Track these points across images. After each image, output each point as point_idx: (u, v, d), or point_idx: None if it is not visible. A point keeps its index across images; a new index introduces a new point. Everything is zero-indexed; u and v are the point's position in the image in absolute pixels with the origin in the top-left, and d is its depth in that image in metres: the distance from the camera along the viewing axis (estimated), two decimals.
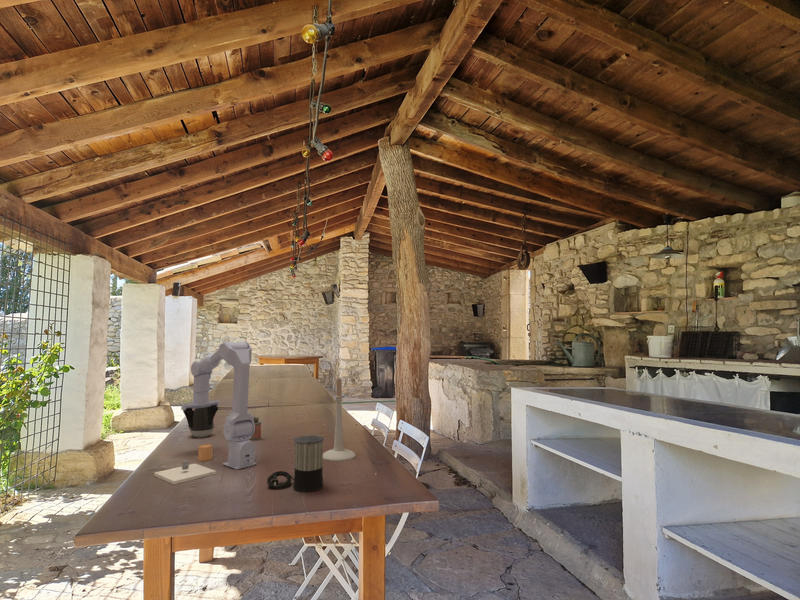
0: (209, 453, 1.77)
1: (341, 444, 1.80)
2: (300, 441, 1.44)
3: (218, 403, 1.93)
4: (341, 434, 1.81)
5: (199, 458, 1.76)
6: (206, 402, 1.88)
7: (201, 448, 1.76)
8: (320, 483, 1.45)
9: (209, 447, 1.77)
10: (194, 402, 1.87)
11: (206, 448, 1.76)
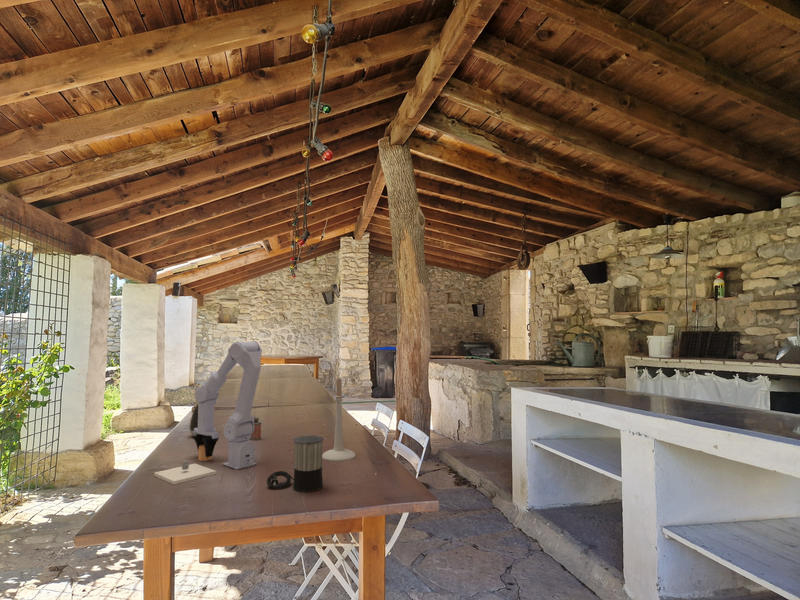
0: None
1: (341, 444, 1.80)
2: (300, 441, 1.44)
3: (212, 435, 1.73)
4: (341, 434, 1.81)
5: (199, 458, 1.76)
6: (200, 431, 1.76)
7: (201, 448, 1.76)
8: (320, 483, 1.45)
9: None
10: None
11: None
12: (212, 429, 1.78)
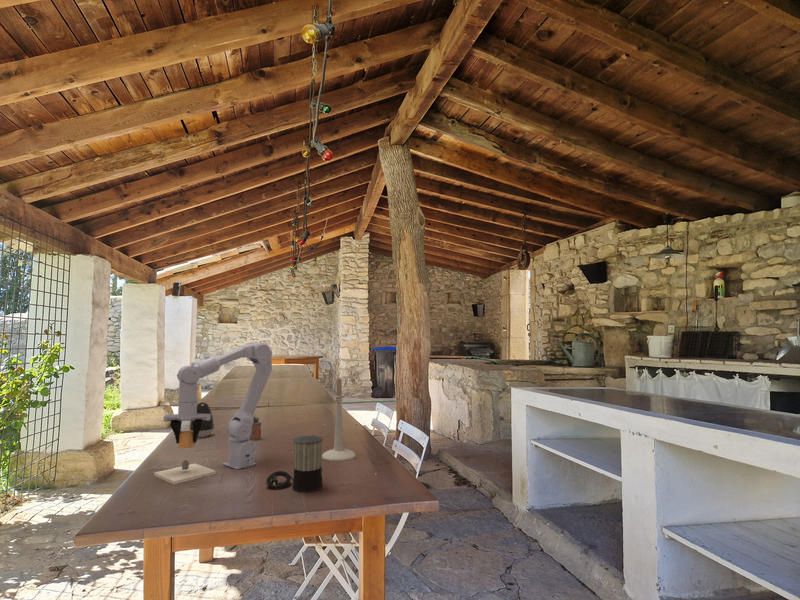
0: None
1: (341, 444, 1.80)
2: (299, 441, 1.44)
3: (207, 417, 1.61)
4: (341, 434, 1.81)
5: (184, 446, 1.58)
6: (188, 415, 1.58)
7: (188, 434, 1.59)
8: (319, 483, 1.45)
9: None
10: None
11: None
12: None
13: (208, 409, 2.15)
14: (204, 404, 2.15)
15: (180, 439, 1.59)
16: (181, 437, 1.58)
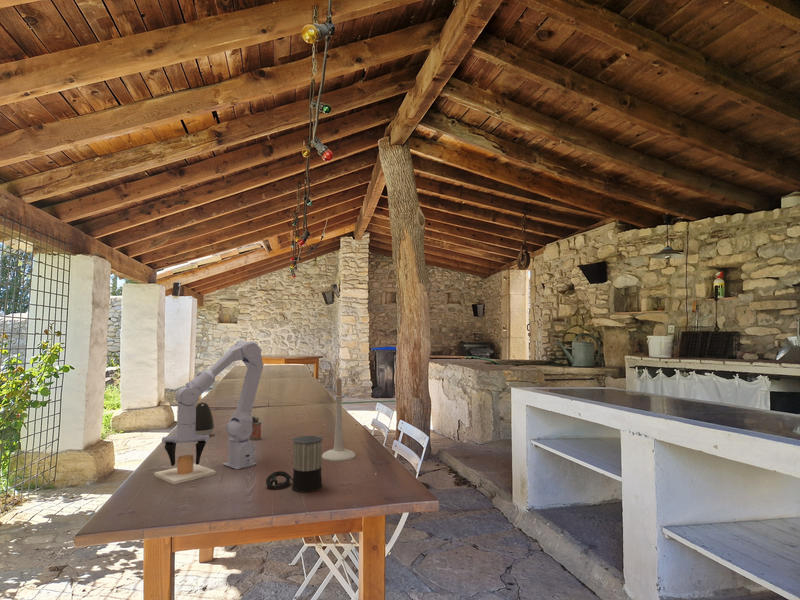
0: (193, 463, 1.60)
1: (341, 444, 1.80)
2: (299, 441, 1.44)
3: (206, 439, 1.60)
4: (341, 434, 1.81)
5: (183, 471, 1.57)
6: (187, 437, 1.57)
7: (187, 459, 1.57)
8: (319, 483, 1.45)
9: None
10: (177, 435, 1.59)
11: (192, 458, 1.59)
12: None
13: (208, 409, 2.15)
14: (204, 404, 2.15)
15: (179, 464, 1.57)
16: (180, 462, 1.57)
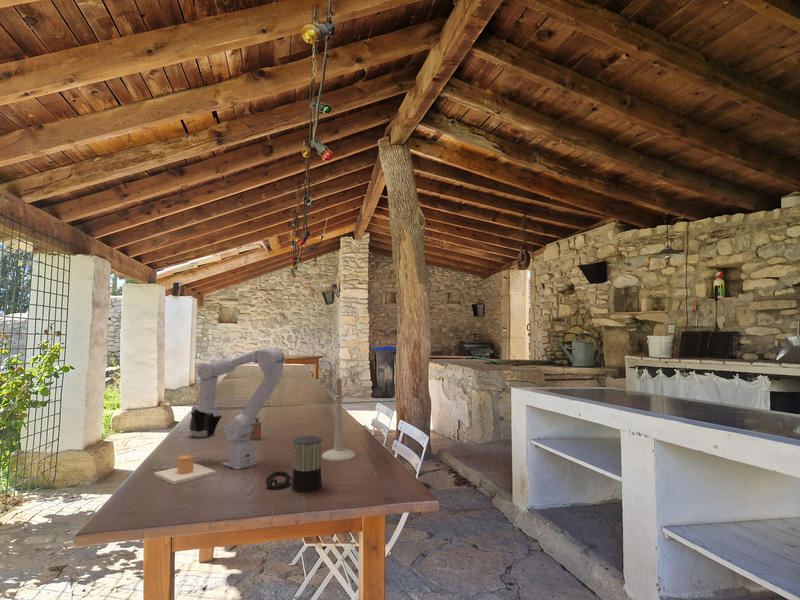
0: (193, 463, 1.60)
1: (341, 444, 1.80)
2: (298, 441, 1.44)
3: (214, 413, 1.70)
4: (341, 434, 1.81)
5: (183, 471, 1.57)
6: (201, 408, 1.72)
7: (187, 459, 1.57)
8: (319, 483, 1.45)
9: None
10: None
11: (192, 458, 1.59)
12: (213, 407, 1.74)
13: None
14: None
15: (179, 464, 1.57)
16: (180, 462, 1.57)
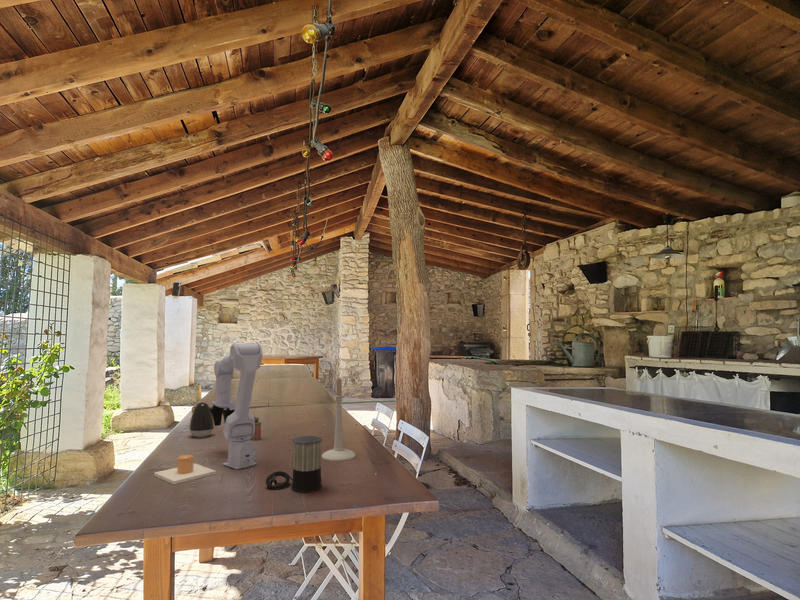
0: (193, 463, 1.60)
1: (341, 444, 1.80)
2: (298, 441, 1.44)
3: (230, 407, 1.81)
4: (341, 434, 1.81)
5: (183, 471, 1.57)
6: (218, 403, 1.84)
7: (187, 459, 1.57)
8: (318, 484, 1.44)
9: None
10: None
11: (192, 458, 1.59)
12: (229, 402, 1.86)
13: (208, 409, 2.15)
14: (204, 404, 2.15)
15: (179, 464, 1.57)
16: (180, 462, 1.57)
